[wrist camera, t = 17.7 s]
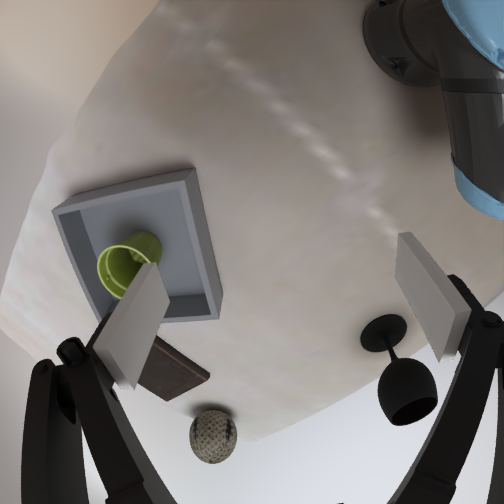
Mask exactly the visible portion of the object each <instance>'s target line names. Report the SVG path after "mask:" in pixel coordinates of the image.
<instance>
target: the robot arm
mask: <svg viewBox="0 0 504 504" xmlns="http://www.w3.org/2000/svg"><path fill="white" fill-rule="evenodd" d="M363 34H364V39H365V43H366V46H367V48H368V50H369V52H370V54H371V56H372V58H373V59H374V61H375V62H376V63H377V64H378V66H379V67H380V68H381V69H382V70H383V71H384V72H385V73H387V74H388V75H389V76H390V77H392V78H393V79H395V80H397V81H399V82H401V83H404V84H407V85H411V86H432V85H436V84H439V83H441V86H442V92H443V97H444V102H445V108H446V114H447V120H448V127H449V134H450V142H451V161H452V163H453V166H454V173H455V182H456V186H457V189H458V191H459V192H460V193H461V195H462V197H463V198H464V199H465V200H466V202H468V203H469V204H470V205H471V206H472V207H474V208H475V209H477V210H478V211H480V212H482V213H484V214H486V215H488V216H490V217H493V218H496V219H499V220H503V221H504V0H377V1H376V2H374V3H373V4H372V5H371V6H370V7H369V9H368V10H367V12H366V15H365V18H364V22H363ZM395 278H396V280H397V282H398V284H399V285H400V287H401V289H402V291H403V293H404V294H405V296H406V298H407V300H408V302H409V304H410V306H411V307H412V309H413V311H414V313H415V315H416V317H417V319H418V321H419V323H420V325H421V327H422V329H423V331H424V333H425V335H426V337H427V339H428V341H429V343H430V345H431V347H432V349H433V351H434V353H435V356H436V358H437V360H438V362H439V363H443V362H447V361H451V360H454V358H455V356H456V353H457V351H459V353H460V355H461V359H460V361H459V364H458V366H457V368H456V371H455V375H454V378H453V380H452V383H451V385H450V388H449V390H448V393H447V395H446V398H445V400H444V402H443V405H442V407H441V409H440V411H439V414H438V416H437V418H436V420H435V422H434V424H433V426H432V428H431V430H430V432H429V434H428V436H427V438H426V440H425V442H424V444H423V446H422V448H421V450H420V452H419V453H418V455H417V457H416V459H415V461H414V463H413V464H412V466H411V467H410V469H409V471H408V473H407V474H406V476H405V477H404V479H403V481H402V482H401V484H400V485H399V487H398V489H397V490H396V492H395V493H394V494H393V496H392V497H391V499H390V500H389V501H388V503H387V504H449V503H450V501H451V499H452V497H453V495H454V493H455V490H456V485H455V483H456V480H457V478H458V476H459V474H460V472H461V469H462V467H463V465H464V463H465V460H466V458H467V455H468V453H469V450H470V448H471V445H472V443H473V440H474V437H475V435H476V432H477V429H478V427H479V424H480V421H481V418H482V415H483V412H484V408H485V405H486V402H487V398H488V395H489V391H490V387H491V383H492V379H493V376H494V371H495V368H498V423H497V437H496V448H495V457H494V465H493V472H492V479H491V484H490V490H489V495H488V499H487V504H504V321H502V319H501V317H500V316H498V315H497V314H496V313H493V312H491V311H485V310H484V308H483V307H482V306H481V304H480V303H479V302H478V300H477V299H476V298H475V296H474V295H473V294H472V293H471V291H470V290H469V288H467V286H466V285H465V283H464V282H463V281H462V280H461V279H460V278H458V277H457V276H455V275H454V274H453V275H447V276H446V274H445V273H444V272H443V270H442V269H441V268H440V267H439V265H438V264H437V263H436V261H435V260H434V259H433V258H432V257H431V255H430V254H429V253H428V252H427V250H426V249H425V248H424V247H423V246H422V244H421V243H420V242H419V241H418V240H417V238H416V237H415V236H414V235H413V234H412V233H411V232H404V233H398V243H397V258H396V270H395ZM169 303H170V300H169V298H168V295H167V292H166V290H165V287H164V284H163V282H162V279H161V276H160V273H159V270H158V268H157V265H156V262H153V263H145V264H143V265H142V267H141V268H140V270H139V272H138V273H137V275H136V276H135V278H134V279H133V281H132V282H131V284H130V286H129V287H128V289H127V290H126V292H125V293H124V295H123V297H122V298H121V300H120V301H119V303H118V305H117V306H116V308H115V310H114V311H113V312H109V313H108V314H107V315H106V316H105V317H104V318H103V319H102V320H101V322H100V324H99V325H98V327H97V328H96V330H95V333H93V335H92V337H91V338H90V340H89V342H88V344H87V345H86V347H85V346H84V345H83V343H82V342H81V340H80V339H79V338H77V337H71V338H68V339H66V340H65V341H63V342H62V343H61V344H60V345H59V346H58V348H57V352H56V353H57V355H58V356H59V358H60V359H61V361H62V362H63V365H58V366H55V364H54V363H53V362H52V360H50V359H44V360H41V361H39V362H38V363H37V364H36V365H35V366H34V368H33V370H32V374H31V380H30V386H29V392H28V398H27V405H26V413H25V421H24V431H23V444H22V463H21V499H22V500H21V501H22V504H89V499H88V493H87V486H86V477H85V468H84V458H83V446H82V430H81V429H83V432H84V435H85V438H86V441H87V444H88V447H89V449H90V452H91V455H92V457H93V460H94V462H95V465H96V468H97V470H98V473H99V475H100V477H101V480H102V482H103V484H104V486H105V489H106V491H107V494H108V498H107V499H106V500H105V503H106V504H177V502H176V501H175V500H174V498H173V497H172V495H171V494H170V492H169V491H168V489H167V488H166V486H165V484H164V483H163V481H162V480H161V478H160V476H159V475H158V473H157V471H156V470H155V468H154V466H153V465H152V463H151V461H150V459H149V458H148V456H147V454H146V452H145V451H144V449H143V447H142V445H141V443H140V442H139V440H138V438H137V436H136V434H135V432H134V430H133V428H132V426H131V424H130V422H129V420H128V418H127V416H126V414H125V412H124V410H123V408H122V406H121V404H120V401H119V400H118V397H117V395H116V392H115V391H114V389H113V388H112V386H113V384H114V382H116V384H117V385H118V386H119V388H120V389H124V390H125V389H126V390H135V387H136V384H137V382H138V379H139V377H140V374H141V372H142V369H143V367H144V364H145V361H146V359H147V356H148V354H149V351H150V349H151V346H152V344H153V342H154V339H155V337H156V334H157V332H158V329H159V327H160V325H161V322H162V320H163V317H164V315H165V313H166V310H167V308H168V306H169ZM81 426H82V428H81ZM339 504H343V503H339Z"/></svg>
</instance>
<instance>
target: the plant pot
mask: <svg viewBox="0 0 504 504" xmlns="http://www.w3.org/2000/svg"><path fill="white" fill-rule="evenodd" d="M132 250H133V251H132ZM161 256H162V245H161V243H160V241H159V240H158V239H157V238H156V237H155V236H154V235H153V234H152V233H150V232H147V231H137V232H135V233H133V234H132V235H130V236H129V237H128V238H126V239H125V240H124V241H122V242H121V243H119V244H117V245H113V246H110V247H108V248H106V249H105V250H104V251H103V252H102V253H101V254H100V256H99V258H98V262H97V270H98V275H99V278H100V280H101V282H102V284H103V285H104V286H105V288H106V289H107V290H108V291H109V292H110V293H111V294H112V295H114V296H115V297H117V298H119V299H121V298H122V297H123V295H124V293H125V292H126V290H127V289H128V287H129V286H130V284H131V282H132V281H133V279H134V278H135V276H136V275H137V273H138V272H139V270H140V268H141V267H142V265H143V264H145V263H153V262H156V265H157V268H158V265H159V262H160V259H161ZM144 260H146V261H147V262H146V261H144Z"/></svg>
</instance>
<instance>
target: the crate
mask: <svg viewBox="0 0 504 504" xmlns="http://www.w3.org/2000/svg"><path fill="white" fill-rule="evenodd" d="M52 213H53V216H54V219H55V222H56V225H57V228H58V231H59V233H60V236H61V239H62V241H63V244H64V246H65V249H66V252H67V254H68V257H69V259H70V261H71V264H72V266H73V269H74V271H75V273H76V276H77V278H78V280H79V282H80V285H81V287H82V289H83V291H84V293H85V295H86V298H87V300H88V302H89V304H90V306H91V308H92V310H93V312H94V314H95V316H96V318H97V320H98V322H99V324H100V322H101V320H102V319H103V318H104V317H105V316H106V315H107V314H108V313H109V312H113V311H114V310H115V308H116V306H117V305H118V303H119V301H120V300H121V299H119V298H117V297H115V296H114V295H112V294H111V293H110V292H109V291H108V290H107V289H106V288H105V286H104V285H103V284H102V282H101V280H100V278H99V275H98V270H97V262H98V258H99V256H100V254H101V253H102V252H103V251H104V250H105V249H106V248H108V247H110V246H113V245H117V244H119V243H121V242H122V241H124V240H125V239H126V238H128V237H129V236H130V235H132V234H133V233H135V232H137V231H147V232H150V233H152V234H153V235H154V236H155V237H156V238H157V239H158V240H159V241H160V243H161V245H162V256H161V259H160V262H159V265H158V270H159V273H160V276H161V279H162V282H163V284H164V287H165V290H166V292H167V295H168V298H169V300H170V303H169V306H168V308H167V310H166V313H165V315H164V317H163V320H162V322H161V323H173V322H189V321H203V320H216V319H219V316H220V310H221V304H222V298H223V290H222V286H221V282H220V277H219V273H218V269H217V265H216V260H215V256H214V252H213V247H212V243H211V238H210V234H209V229H208V225H207V220H206V216H205V211H204V207H203V202H202V197H201V192H200V188H199V183H198V178H197V173H196V168H191V169H185V170H180V171H175V172H170V173H165V174H160V175H155V176H150V177H145V178H141V179H136V180H132V181H127V182H123V183H119V184H115V185H111V186H107V187H103V188H99V189H95V190H91V191H87V192H83V193H80V194H76V195H73V196H72V197H70V198H69V199H67V200H66V201H64V202H63V203H61V204H60V205H58V206H57V207H55V208H54V209H53V210H52ZM132 251H133V250H132ZM144 261H146V260H144ZM146 262H147V261H146Z"/></svg>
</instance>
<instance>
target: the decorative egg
mask: <svg viewBox="0 0 504 504" xmlns="http://www.w3.org/2000/svg"><path fill="white" fill-rule="evenodd" d="M189 435H190V436H189V438H190V445H191V448H192V450H193V452H194V453H195V455H196V456H197V457H198V458H199V459H200V460H202V461H204V462H206V463H210V464H215V463H220V462H222V461H224V460H225V459H227V458H228V457H229V456H230V455H231V453H232V452H233V450H234V448H235V445H236V441H237V430H236V426H235V424H234V422H233V420H232V419H231V418H230V417H229V416H228V415H227V414H225V413H223V412H221V411H217V410H209V411H205V412H203V413H201V414H199V415H198V416H197V417H196V418H195V419H194V421H193V423H192V425H191V427H190V434H189Z"/></svg>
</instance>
